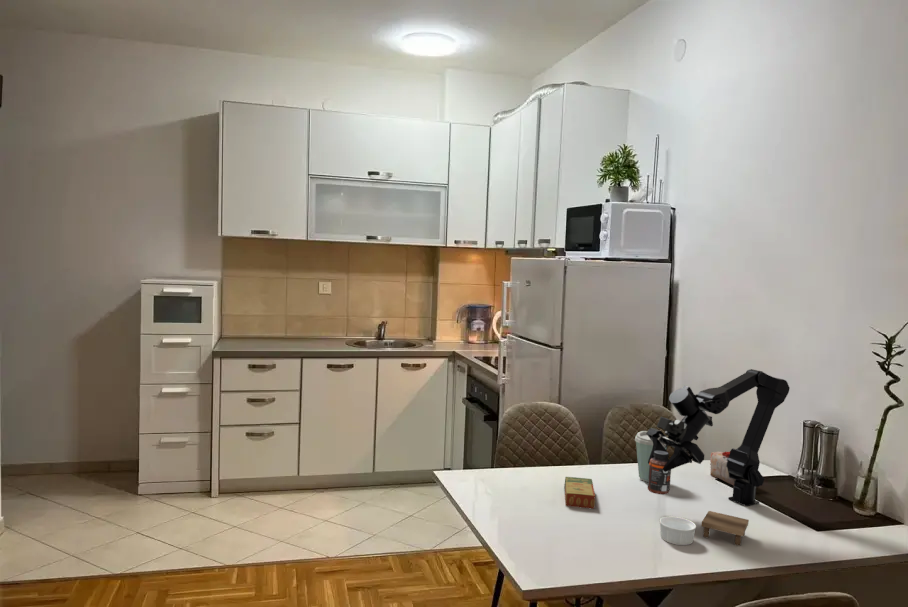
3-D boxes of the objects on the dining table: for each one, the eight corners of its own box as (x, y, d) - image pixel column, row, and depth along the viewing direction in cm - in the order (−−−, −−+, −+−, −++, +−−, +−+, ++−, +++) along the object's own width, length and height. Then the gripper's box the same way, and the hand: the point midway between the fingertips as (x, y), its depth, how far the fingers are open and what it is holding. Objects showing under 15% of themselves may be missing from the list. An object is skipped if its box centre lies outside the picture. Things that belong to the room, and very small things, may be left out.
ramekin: (690, 549, 168) (691, 532, 167) (654, 540, 172) (655, 523, 172) (698, 538, 175) (699, 522, 175) (663, 529, 180) (664, 513, 180)
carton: (564, 507, 193) (565, 492, 192) (563, 488, 209) (564, 475, 208) (594, 510, 192) (595, 495, 191) (591, 491, 207) (592, 477, 207)
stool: (707, 525, 185) (708, 510, 184) (747, 534, 180) (748, 519, 179) (700, 536, 176) (701, 521, 176) (741, 547, 171) (743, 531, 171)
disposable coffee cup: (669, 486, 216) (673, 439, 215) (635, 484, 216) (639, 437, 215) (660, 475, 227) (663, 431, 226) (627, 473, 227) (631, 429, 226)
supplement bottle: (670, 496, 189) (673, 456, 188) (648, 493, 190) (651, 453, 189) (668, 489, 195) (671, 450, 194) (646, 487, 196) (649, 448, 195)
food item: (705, 474, 232) (707, 446, 231) (724, 473, 234) (726, 445, 234) (733, 488, 219) (736, 458, 218) (753, 487, 222) (756, 457, 221)
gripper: (653, 400, 201) (620, 439, 197) (699, 415, 184) (664, 458, 180) (672, 425, 204) (640, 464, 201) (719, 442, 187) (685, 485, 184)
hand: (656, 467), depth 191 cm, fingers closed on supplement bottle, 6 cm apart
